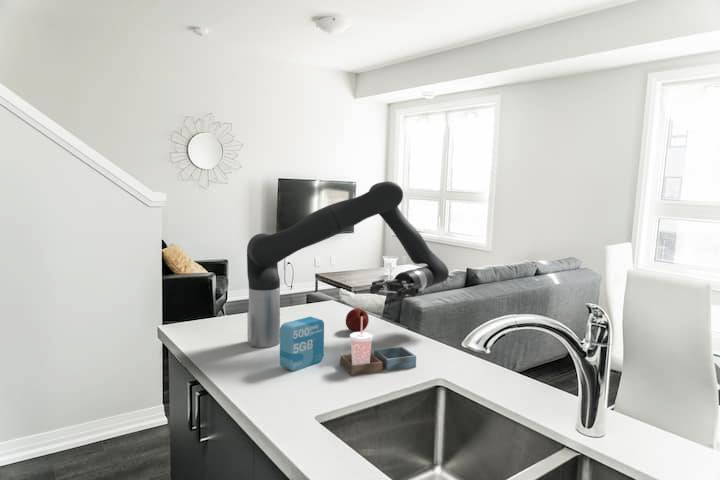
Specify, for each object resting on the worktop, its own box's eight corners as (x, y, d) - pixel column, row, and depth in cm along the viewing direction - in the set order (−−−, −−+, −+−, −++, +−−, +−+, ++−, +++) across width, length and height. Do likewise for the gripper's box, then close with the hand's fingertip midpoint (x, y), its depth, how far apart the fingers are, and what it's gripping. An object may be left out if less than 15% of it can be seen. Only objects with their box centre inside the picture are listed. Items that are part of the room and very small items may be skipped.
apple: (352, 336, 157) (352, 312, 157) (341, 329, 164) (341, 306, 163) (371, 333, 161) (372, 309, 160) (360, 327, 168) (360, 304, 167)
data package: (290, 372, 126) (290, 327, 125) (279, 368, 129) (279, 323, 128) (324, 361, 135) (324, 318, 134) (313, 357, 138) (313, 315, 137)
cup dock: (351, 375, 125) (351, 364, 125) (340, 364, 133) (340, 353, 132) (415, 366, 132) (416, 356, 132) (401, 356, 140) (401, 346, 139)
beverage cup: (345, 365, 132) (346, 314, 130) (366, 362, 134) (367, 312, 133) (354, 373, 126) (355, 320, 125) (376, 370, 129) (377, 318, 127)
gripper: (390, 268, 155) (363, 276, 141) (432, 273, 147) (407, 282, 134) (390, 291, 156) (363, 301, 142) (431, 297, 148) (406, 308, 134)
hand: (384, 292), depth 138 cm, fingers open, 8 cm apart
